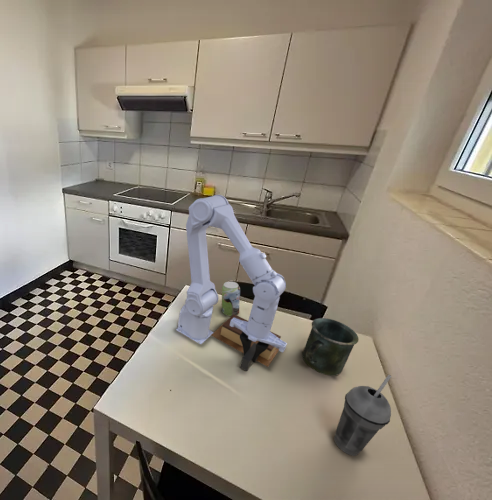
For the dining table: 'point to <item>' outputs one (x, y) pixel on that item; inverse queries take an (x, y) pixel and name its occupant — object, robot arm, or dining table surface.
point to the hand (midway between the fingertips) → (250, 357)
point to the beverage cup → (362, 418)
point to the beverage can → (230, 298)
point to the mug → (329, 346)
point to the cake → (232, 330)
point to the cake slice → (269, 350)
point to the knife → (248, 358)
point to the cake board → (240, 348)
